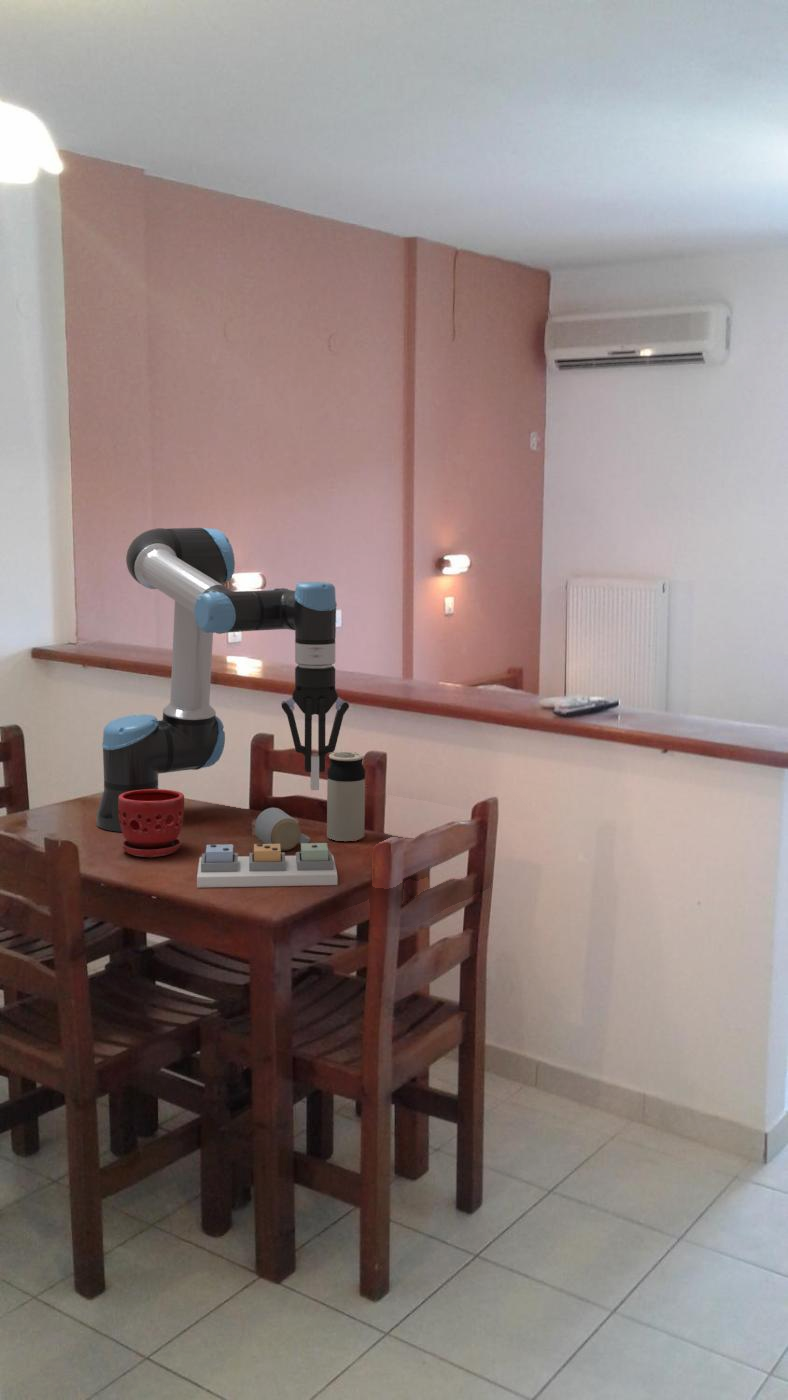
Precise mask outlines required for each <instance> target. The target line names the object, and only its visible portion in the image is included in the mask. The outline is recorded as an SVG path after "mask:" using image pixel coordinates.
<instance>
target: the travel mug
mask: <svg viewBox="0 0 788 1400" xmlns="http://www.w3.org/2000/svg"><path fill="white" fill-rule="evenodd" d="M328 757H329V759H330V760H329V761H330V765H329V767H328V769H327V773H326V774H327V776H326V777H327V781H326V782H327V784H326V785H327V786H326V787H327V789H326V790H327V793H326V794H327V795H326V796H327V797H326V798H327V799H326V800H327V801H326V809H327V810H326V837H327V839H329V840H331V839H332V840H331V841H333V840H335V841H334V842H337V841H352V840H356V839H360V838H362V837H363V836H364V837H365V823H366V822H365V819H366V818H365V817H366V815H365V814H366V813H365V812H366V811H365V809H366V769H365V768H364V765H363V759H364V758H365V755H364V754H363V753H361V752H358V751H357V752H356V751H337V752H335V751H334V752H330V754H329V755H328Z"/></svg>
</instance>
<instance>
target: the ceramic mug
mask: <svg viewBox="0 0 788 1400" xmlns="http://www.w3.org/2000/svg"><path fill="white" fill-rule="evenodd" d="M254 831H255V832H254V833H255V835H256V837H257V839H258V840H259V841H261V842H262V843H263V844H280V849H281V852H286V851H290V850H292V849H294V848H295V847H296V846H297V845H298V844H300V845H301V843H310V841H311V837H309V836H308V835H306V834H303V833H302V829H301V826H300V824H299V823H298V821H297V820H296V819H295V818H294V817H292V816H291V815H289V814H288V813H286V812H285V811H284V810H282V809H280V808H278V807H267V808H266V809H264V810H263V811H261V812H260V814H259V815H258V816H257V818H256V820H255V823H254Z"/></svg>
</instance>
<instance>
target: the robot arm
mask: <svg viewBox="0 0 788 1400" xmlns="http://www.w3.org/2000/svg"><path fill="white" fill-rule="evenodd" d="M125 562H126V568H127V570H128V573H129V574H130V575H131V577H132V579H134V580H135V581H136V582H137V583H138V584H140V585H142V586H143V587H144V588H147V589H150V590H158V591H160V592H162V593H163V594H165V596H168V597H169V598H171V599H172V600H174V611H173V613H174V615H173V633H172V634H173V635H172V636H173V637H172V657H171V677H170V678H171V679H170V681H171V682H170V701H169V703H168V704H167V705H166V706H164V708H163V709H162V719H161V720H158V718H157V717H156V716H154V715H152V714H138V715H137V714H134V715H126V716H123V717H122V716H121V717H118V718H115V719H113V720H111V721H110V722H108V723H107V724H106V725H105V727H104V728H103V731H102V732H103V733H102V735H103V736H102V745H101V746H102V755H103V756H102V760H103V761H102V762H103V792H102V795H101V798H100V802H99V805H98V808H97V812H96V816H95V817H96V826H97V827H98V828H100V829H103V830H106V831H110V832H111V831H112V832H121V833H122V830H121V827H120V822H119V812H118V798H119V795H120V794H122V793H125V792H129V791H135V790H145V789H159V775H160V774H168V773H173V772H182V771H191V770H192V771H193V770H194V771H195V770H196V771H198V770H200V769H204V768H210V767H212V766H214V765H215V764H216V763H217V762H219V760H220V759H221V757H222V755H223V753H224V749H225V744H226V743H225V742H226V733H225V731H224V725H223V722H222V720H221V719H220V718H219V717H218V716H217V715H216V713H217V712H216V710H215V709H214V708H213V707H212V706H211V704H210V698H211V679H212V663H213V662H212V661H213V658H212V657H213V644H214V643H213V641H214V638H213V637H214V633H215V634H218V635H219V634H220V635H221V634H222V635H223V634H226V633H239V632H240V633H241V632H253V631H254V632H255V631H257V632H258V631H275V630H289V631H290V630H291V631H294V635H295V639H294V651H295V653H294V661H295V662H294V663H296V664H297V665H296V667H295V668H294V691H293V692H292V693H291V694H292V697H290V698H289V699H286V700H284V701H281V709H282V711H284V713H285V714H286V716H287V721H288V724H289V728H290V732H291V737H292V742H293V745H294V749H295V752H296V753H299V754H301V755H303V756H304V770H305V773H310V790H311V791H320V773H324V772H325V770H326V756H327V754H329V753H330V754H331V753H335V750H336V747H337V742H338V738H339V735H340V731H341V728H342V727H341V726H342V723H343V719H344V715H345V714H346V712H347V711H348V709H349V708H350V704H349V703H348V701H347V700H343V699H342V698H340V697H339V694H338V692H337V689H336V668H335V666H333V665H334V664H335V663H336V628H337V626H336V625H337V624H336V623H337V606H338V604H337V600H336V599H337V598H336V587H335V586H334V584H332V583H331V582H321V581H305V582H304V581H303V582H298V583H297V584H296V585H295V590H294V589H293V590H292V589H288V588H284V587H282V588H278V587H277V588H271V589H268V590H245V591H244V590H243V591H241V590H240V591H238V590H237V591H235V590H232V589H230V588H228V587H227V586H226V585H224V584H225V583H227V582H229V581H231V579H232V578H233V575H234V573H235V565H236V562H235V554H234V550H233V547H232V544H231V543H230V540H229V538H228V537H227V536H226V534H225V533H224V532H222V531H221V530H220V529H216V528H207V527H179V528H153V529H149V530H146V531H144V532H142V533H140V534H139V535H138V536H136V537H135V538H134V539H133V541H132V542H131V543H130V545H129V546H128V549H127V552H126V558H125ZM335 703H336V704H335ZM295 704H296V705H297V706H298V708H299V709H300V711H301V712H302V713H303V714H304V745H302V743H301V739H300V735H299V731H298V728H297V723H296V720H295V719H296V718H295V714H294V710H295ZM334 704H335V709H336V712H335V716H334V720H333V725H332V727H331V728H332V729H331V732H330V735H329V740H328V743H327V745H326V718H327V717H326V714H327V713H329V711H330V710H331V708H332V707H333V706H334ZM313 715H317V717H318V718H317V719H318V721H317V723H318V724H317V725H318V726H317V729H318V730H317V731H318V733H317V734H318V735H317V736H318V737H317V738H318V739H317V740H318V742H317V743H318V744H317V745H318V747H317V748H318V749H317V751H318V753H312V751H313V750H312V748H313V747H312V741H313V736H312V729H313V728H312V725H313V723H312V722H313V717H312V716H313ZM157 815H159V814H157ZM140 817H141V818H142V815H141V814H140ZM166 819H168V816H167V817H166Z"/></svg>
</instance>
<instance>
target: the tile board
mask: <svg viewBox="0 0 788 1400" xmlns="http://www.w3.org/2000/svg"><path fill="white" fill-rule="evenodd" d="M285 852H286V851H281V861H262V862H254V852H248V853H249V856H247V855H246V856H244V855H243V856H239V853H238V852H233V862H206V853H202V854H201V856H199V861H198V866H197V875H196V888H198V889H199V888H201V889H202V888H238V887H239V888H240V887H241V888H246V887H247V888H249V887H254V888H255V887H292V886H293V887H295V886H296V887H297V886H298V887H299V886H302V887H303V886H338V870H337V866H336V862H335V857H334V855H333V854H332V851H328V860H324V861H302V858H301V851H296V852H295V855H286V853H285Z"/></svg>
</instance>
